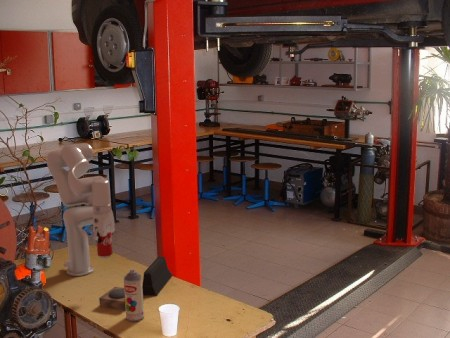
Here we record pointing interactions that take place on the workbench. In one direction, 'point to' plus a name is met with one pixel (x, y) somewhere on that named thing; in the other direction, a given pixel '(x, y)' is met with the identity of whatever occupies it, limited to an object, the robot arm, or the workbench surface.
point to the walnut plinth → (114, 299)
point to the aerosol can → (133, 296)
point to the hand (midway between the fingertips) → (105, 249)
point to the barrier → (156, 277)
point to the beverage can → (105, 246)
